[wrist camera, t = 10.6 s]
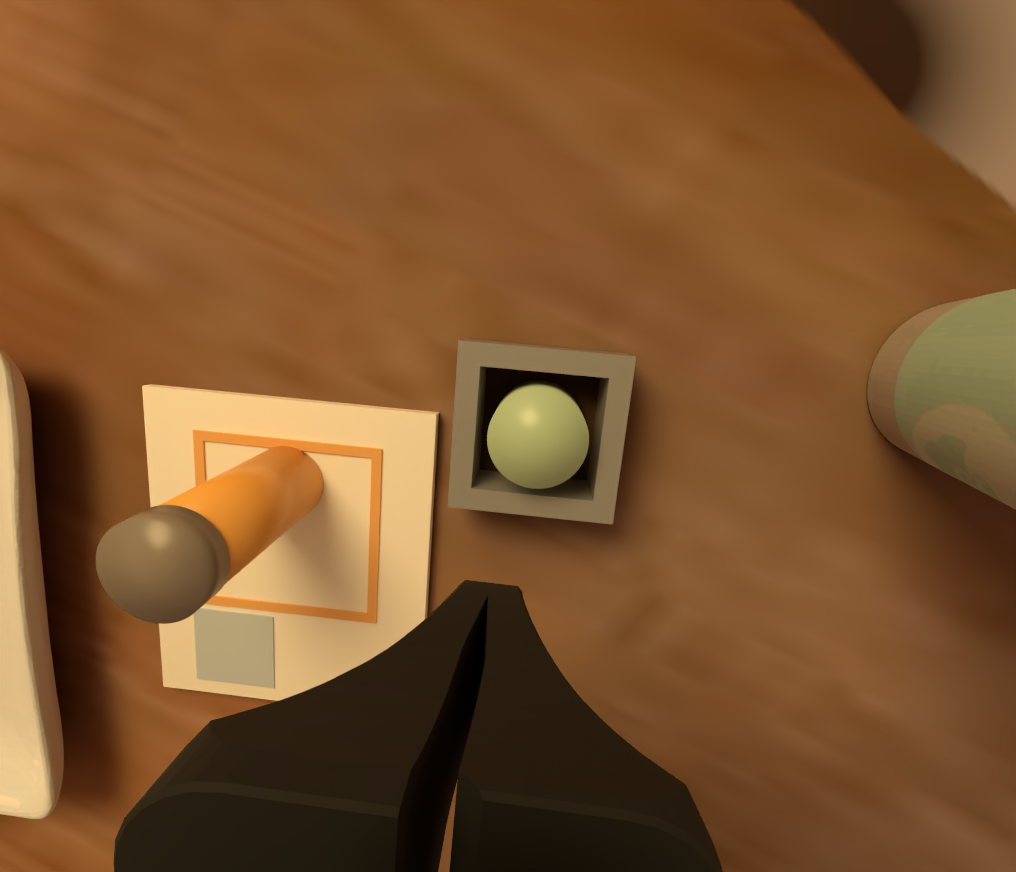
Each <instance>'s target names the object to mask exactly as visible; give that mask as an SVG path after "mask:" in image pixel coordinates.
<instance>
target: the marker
mask: <svg viewBox="0 0 1016 872" xmlns="http://www.w3.org/2000/svg"><path fill="white" fill-rule="evenodd" d="M322 493H323V478H322V474H321V471H320V469H319V467H318V466H317V464H316V463H315V462H314V460H313V459H312V458H311V457H310V456H308V455H307V454H306V453H304V452H303V451H301V450H299V449H296V448H293V447H288V446H278V447H274V448H271V449H268V450H266V451H264V452H262V453H260V454H258V455H257V456H255V457H253V458H251V459H249V460H247V461H245V462H243V463H241V464H239V465H237V466H235V467H233V468H231V469H229V470H227V471H225V472H223V473H221V474H219V475H217V476H215V477H213V478H211V479H209V480H207V481H205V482H203V483H201V484H199V485H198V486H196V487H194V488H192V489H190V490H188V491H186V492H184V493H182V494H180V495H178V496H176V497H174V498H172V499H170V500H168V501H166V502H164V503H162V504H160V505H158V506H154V507H151V508H149V509H146V510H144V511H142V512H140V513H138V514H136V515H134V516H132V517H130V518H128V519H126V520H124V521H122V522H120V523H118V524H117V525H115V526H113V527H112V528H111V529H109V530H108V531H107V532H106V533H105V534H104V536H103V537H102V539H101V540H100V542H99V545H98V547H97V552H96V569H97V574H98V577H99V580H100V582H101V584H102V586H103V588H104V589H105V591H106V593H107V594H108V595H109V596H110V598H111V599H112V600H113V601H114V602H115V603H116V604H117V605H118V606H119V607H120V608H122V609H123V610H124V611H126V612H127V613H129V614H131V615H132V616H134V617H136V618H139V619H141V620H144V621H148V622H152V623H159V624H168V623H175V622H179V621H182V620H184V619H186V618H188V617H190V616H191V615H192V614H194V613H195V612H196V611H197V610H198V609H200V608H201V607H202V606H203V605H204V604H205V603H206V602H208V601H209V600H210V599H211V598H212V597H213V596H215V595H216V594H217V593H218V592H219V591H220V590H221V589H222V587H223V586H224V585H225V584H226V583H227V582H228V581H229V580H230V579H232V578H233V577H234V576H235V575H236V574H237V573H239V572H240V571H241V570H242V569H243V568H244V567H245V566H247V565H248V564H249V563H250V562H251V561H252V560H254V559H255V558H256V557H257V556H258V555H259V554H261V553H262V552H263V551H264V550H265V549H266V548H268V547H269V546H270V545H271V544H272V543H273V542H274V541H276V540H277V539H278V538H279V537H280V536H281V535H283V534H284V533H285V532H286V531H287V530H288V529H290V528H291V527H292V526H293V525H294V524H295V523H296V522H298V521H299V520H300V519H301V518H302V517H303V516H305V515H306V514H307V513H308V512H309V511H310V510H312V509H313V508H314V507H315V506H316V505H317V503H318V502H319V500H320V498H321V496H322Z"/></svg>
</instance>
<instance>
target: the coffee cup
mask: <svg viewBox="0 0 1016 872" xmlns="http://www.w3.org/2000/svg"><path fill="white" fill-rule="evenodd" d="M867 398H868V405H869V410H870V413H871V416H872V419H873V421H874V423H875V425H876V426H877V428H878V429H879V431H880V432H881V433H882V435H883V436H884V437H885V438H886V439H887V440H888V441H890V442H891V443H892V444H893V445H895V446H896V447H898V448H900V449H901V450H903V451H905V452H907V453H909V454H911V455H913V456H915V457H916V458H918V459H920V460H922V461H924V462H926V463H928V464H930V465H931V466H933V467H935V468H937V469H939V470H941V471H943V472H945V473H947V474H948V475H950V476H952V477H954V478H956V479H958V480H960V481H962V482H964V483H966V484H968V485H970V486H971V487H973V488H975V489H977V490H979V491H981V492H983V493H985V494H987V495H989V496H991V497H992V498H994V499H996V500H998V501H1000V502H1002V503H1004V504H1006V505H1008V506H1010V507H1012V508H1014V509H1015V510H1016V289H1012V290H1007V291H1003V292H998V293H993V294H988V295H984V296H979V297H974V298H969V299H965V300H960V301H955V302H950V303H946V304H941V305H938V306H935V307H932V308H929V309H927V310H925V311H923V312H921V313H919V314H917V315H915V316H914V317H912V318H910V319H909V320H908V321H906V322H905V323H904V324H902V325H901V326H900V327H899V328H898V329H897V330H896V331H895V332H894V333H893V334H892V335H891V336H890V337H889V338H888V339H887V341H886V342H885V343H884V345H883V346H882V348H881V349H880V351H879V352H878V354H877V356H876V358H875V360H874V363H873V365H872V368H871V371H870V375H869V380H868V388H867Z"/></svg>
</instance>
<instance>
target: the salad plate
mask: <svg viewBox="0 0 1016 872" xmlns="http://www.w3.org/2000/svg"><path fill="white" fill-rule="evenodd" d="M63 770H64V746H63V734H62V725H61V717H60V710H59V704H58V697H57V691H56V683H55V676H54V668H53V661H52V653H51V646H50V637H49V627H48V617H47V607H46V597H45V587H44V577H43V566H42V556H41V545H40V535H39V525H38V514H37V501H36V488H35V473H34V457H33V441H32V423H31V410H30V401H29V395H28V391H27V387H26V384H25V381H24V378H23V376H22V374H21V372H20V370H19V369H18V367H17V366H16V364H15V363H14V362H13V360H12V359H11V358H10V357H9V356H8V355H7V354H6V353H5V352H4V351H2V350H1V349H0V814H3V815H9V816H16V817H23V818H32V819H41V818H45V817H47V816H49V815H50V813H51V812H52V811H53V810H54V808H55V806H56V804H57V802H58V799H59V795H60V790H61V786H62V781H63Z"/></svg>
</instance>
